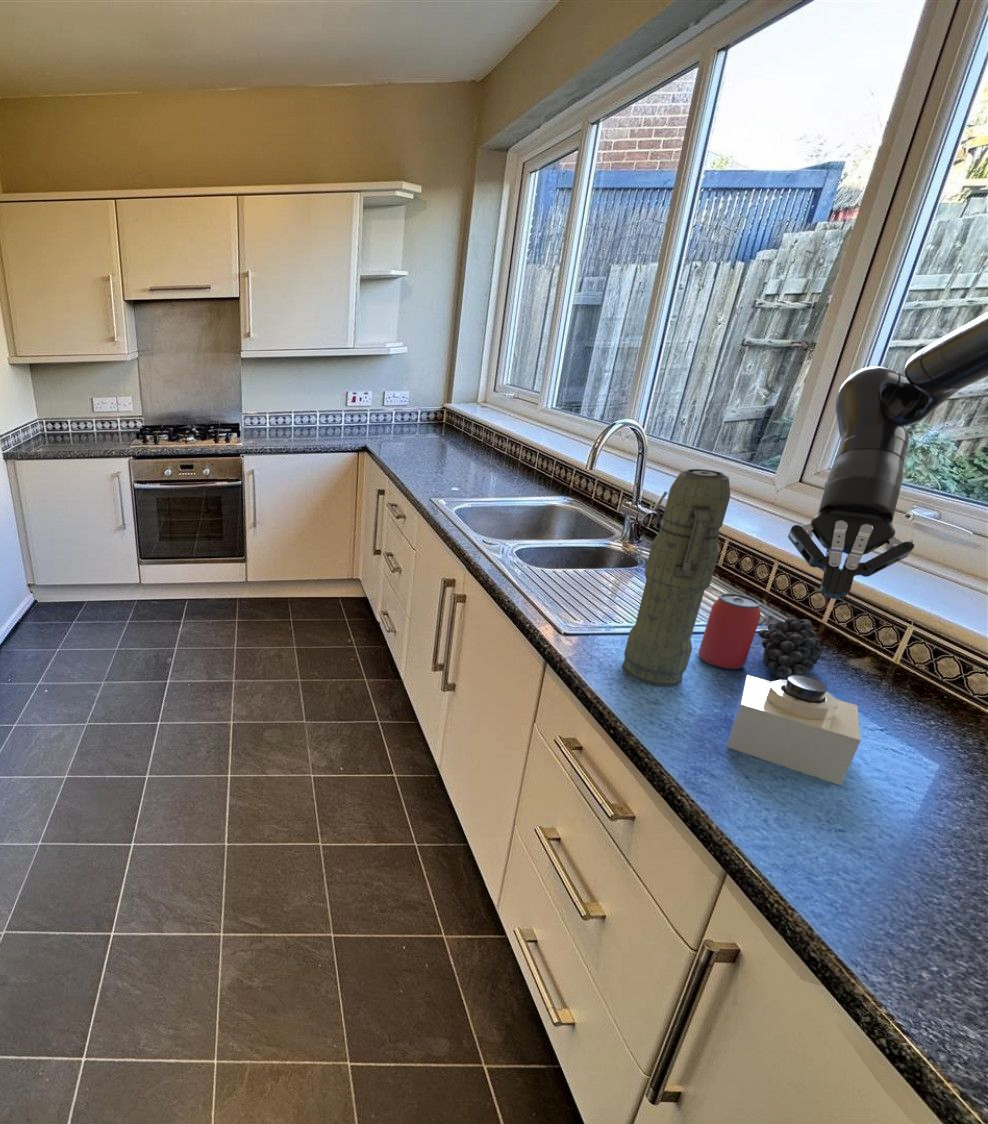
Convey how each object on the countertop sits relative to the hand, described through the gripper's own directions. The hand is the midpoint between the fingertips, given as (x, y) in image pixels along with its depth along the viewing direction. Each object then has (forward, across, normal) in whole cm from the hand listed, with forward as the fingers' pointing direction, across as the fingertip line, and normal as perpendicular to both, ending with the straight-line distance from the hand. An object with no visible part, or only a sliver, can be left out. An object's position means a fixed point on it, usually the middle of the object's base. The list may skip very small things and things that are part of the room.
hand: (833, 596), depth 83 cm
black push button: (+13, 0, +5) cm, 14 cm away
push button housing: (+19, 0, +11) cm, 22 cm away
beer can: (+3, -9, +28) cm, 29 cm away
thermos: (+12, -18, +19) cm, 28 cm away
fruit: (+1, -1, +30) cm, 30 cm away
